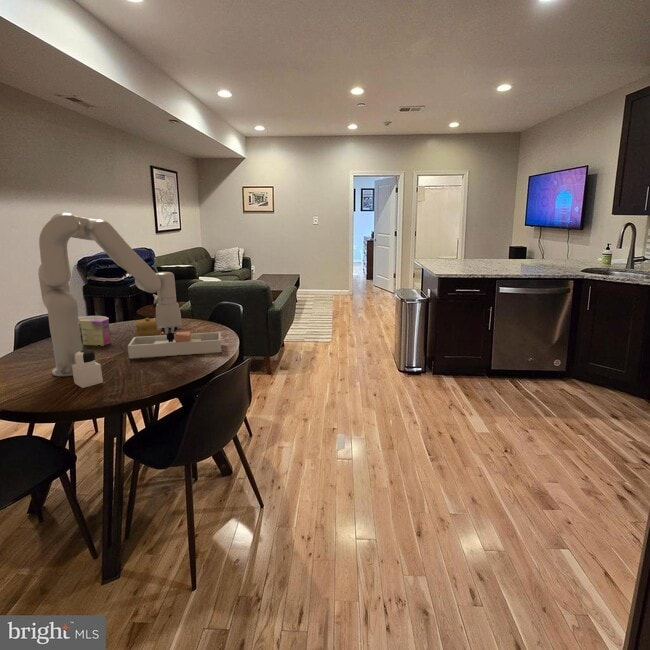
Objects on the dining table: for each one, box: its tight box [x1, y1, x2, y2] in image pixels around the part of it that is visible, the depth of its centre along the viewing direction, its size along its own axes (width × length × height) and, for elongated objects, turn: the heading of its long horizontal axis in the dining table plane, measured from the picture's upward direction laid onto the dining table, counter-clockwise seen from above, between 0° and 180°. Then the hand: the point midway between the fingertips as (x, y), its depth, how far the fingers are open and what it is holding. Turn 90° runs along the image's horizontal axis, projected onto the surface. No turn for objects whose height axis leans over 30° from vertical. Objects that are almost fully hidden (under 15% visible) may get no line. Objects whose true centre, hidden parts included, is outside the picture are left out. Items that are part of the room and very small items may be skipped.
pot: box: [135, 317, 162, 337], centre depth 210 cm, size 12×12×10 cm
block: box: [174, 331, 192, 342], centre depth 188 cm, size 7×6×4 cm
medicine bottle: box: [72, 349, 104, 389], centre depth 151 cm, size 7×7×12 cm
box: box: [80, 318, 112, 347], centre depth 198 cm, size 10×6×12 cm, turn 84°
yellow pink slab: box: [78, 315, 110, 336], centre depth 214 cm, size 25×23×8 cm
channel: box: [127, 331, 223, 360], centre depth 188 cm, size 14×38×6 cm, turn 104°
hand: (170, 341), depth 187 cm, fingers closed
